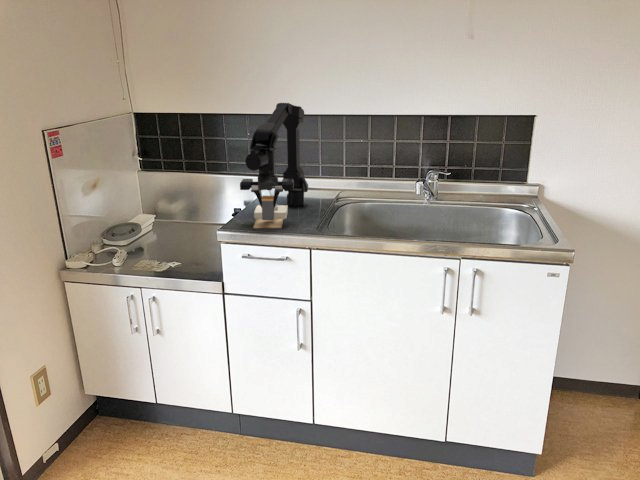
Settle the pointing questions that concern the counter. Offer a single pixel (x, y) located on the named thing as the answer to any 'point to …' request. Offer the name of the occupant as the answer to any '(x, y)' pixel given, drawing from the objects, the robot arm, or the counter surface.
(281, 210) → the block
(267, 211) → the plug
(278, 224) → the cork pad
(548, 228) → the counter surface
